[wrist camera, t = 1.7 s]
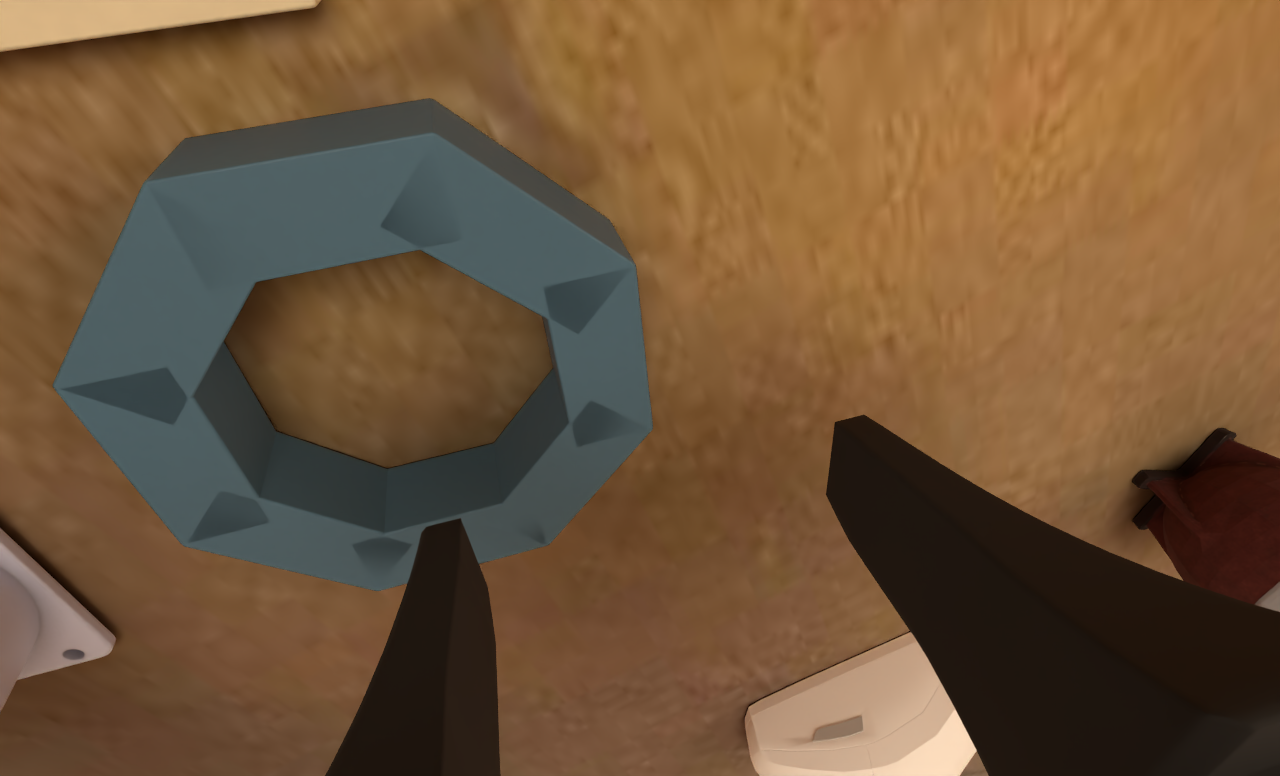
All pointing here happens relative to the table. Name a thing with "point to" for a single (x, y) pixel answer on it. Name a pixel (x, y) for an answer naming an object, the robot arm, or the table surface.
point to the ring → (332, 236)
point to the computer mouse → (862, 720)
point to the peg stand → (119, 17)
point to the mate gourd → (1220, 519)
